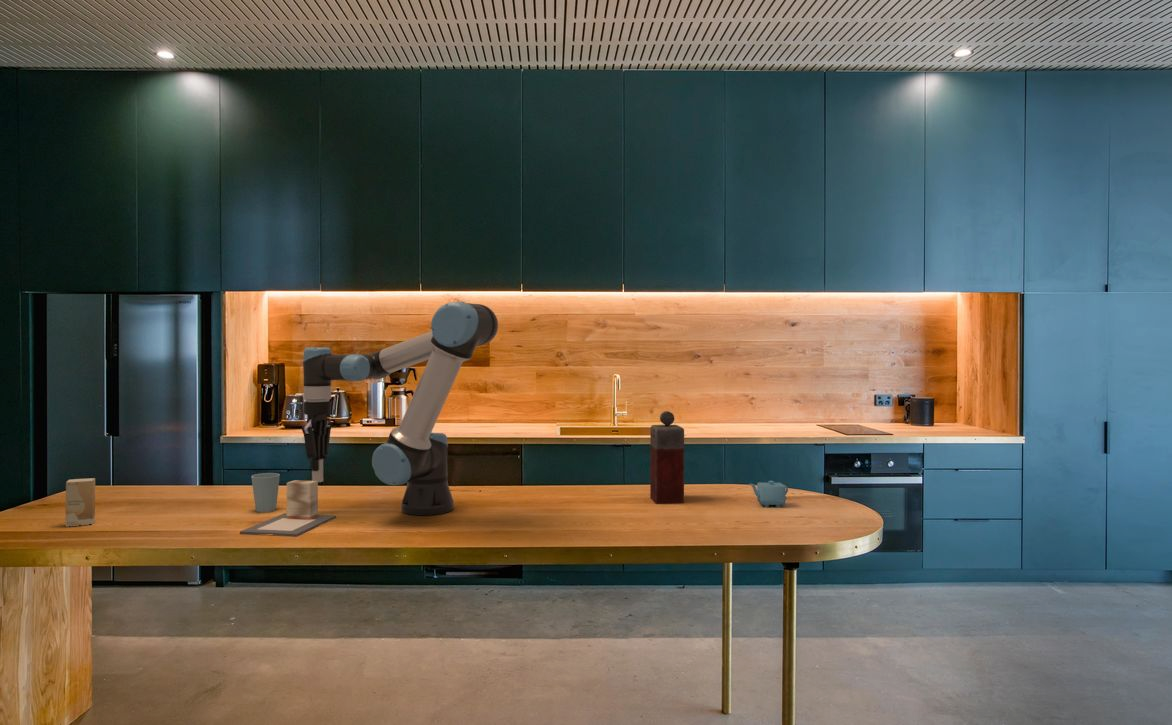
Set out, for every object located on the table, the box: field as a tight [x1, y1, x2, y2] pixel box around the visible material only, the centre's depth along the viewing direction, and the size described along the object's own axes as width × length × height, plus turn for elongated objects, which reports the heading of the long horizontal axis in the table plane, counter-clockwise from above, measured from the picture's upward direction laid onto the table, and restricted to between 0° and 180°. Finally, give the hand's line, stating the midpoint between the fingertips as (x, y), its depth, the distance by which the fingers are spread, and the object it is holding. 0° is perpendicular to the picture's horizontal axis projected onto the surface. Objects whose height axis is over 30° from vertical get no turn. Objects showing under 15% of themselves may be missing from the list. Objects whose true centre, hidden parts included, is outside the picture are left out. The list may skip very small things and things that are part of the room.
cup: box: [251, 472, 281, 513], centre depth 211 cm, size 8×8×10 cm
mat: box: [239, 512, 337, 537], centre depth 194 cm, size 16×20×1 cm
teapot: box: [748, 480, 789, 508], centre depth 217 cm, size 12×6×8 cm, turn 88°
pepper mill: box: [649, 410, 685, 505], centre depth 225 cm, size 9×11×28 cm
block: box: [286, 479, 319, 520], centre depth 200 cm, size 7×4×10 cm, turn 81°
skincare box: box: [65, 477, 96, 528], centre depth 195 cm, size 6×4×12 cm
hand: (317, 481), depth 208 cm, fingers closed
